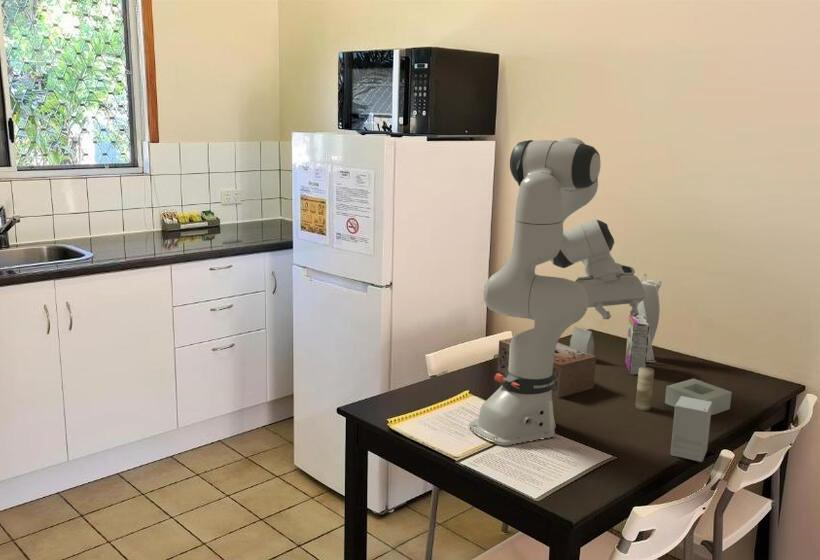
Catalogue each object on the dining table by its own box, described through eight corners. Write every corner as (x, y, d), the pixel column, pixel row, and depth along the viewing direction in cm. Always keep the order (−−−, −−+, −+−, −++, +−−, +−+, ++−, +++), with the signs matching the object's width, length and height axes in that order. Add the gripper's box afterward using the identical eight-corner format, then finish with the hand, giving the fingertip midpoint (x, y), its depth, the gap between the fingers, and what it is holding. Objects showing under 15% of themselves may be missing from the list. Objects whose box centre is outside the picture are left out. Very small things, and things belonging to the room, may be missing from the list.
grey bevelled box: (585, 362, 236) (587, 332, 234) (569, 356, 241) (571, 327, 239) (592, 360, 238) (595, 330, 236) (576, 354, 244) (578, 325, 241)
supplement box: (707, 451, 175) (713, 401, 172) (702, 463, 169) (708, 411, 166) (675, 443, 179) (681, 394, 176) (669, 455, 173) (674, 404, 170)
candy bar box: (623, 363, 237) (628, 313, 233) (640, 364, 236) (644, 314, 232) (628, 374, 226) (633, 323, 222) (645, 376, 225) (650, 324, 221)
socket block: (702, 418, 194) (704, 400, 193) (664, 403, 204) (666, 386, 203) (729, 409, 201) (731, 391, 200) (691, 394, 210) (693, 378, 209)
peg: (643, 411, 198) (647, 373, 195) (632, 406, 201) (635, 368, 198) (653, 408, 200) (657, 370, 197) (641, 403, 203) (645, 366, 201)
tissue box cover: (593, 389, 214) (596, 356, 212) (558, 398, 206) (560, 365, 204) (531, 363, 235) (533, 333, 233) (497, 371, 227) (499, 340, 224)
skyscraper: (624, 355, 245) (632, 273, 239) (647, 354, 246) (655, 272, 240) (636, 363, 237) (644, 279, 231) (659, 362, 238) (668, 278, 232)
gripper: (578, 271, 207) (595, 314, 201) (638, 267, 214) (656, 308, 208) (568, 283, 212) (585, 325, 206) (627, 278, 220) (645, 319, 213)
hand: (621, 316), depth 207 cm, fingers open, 8 cm apart
